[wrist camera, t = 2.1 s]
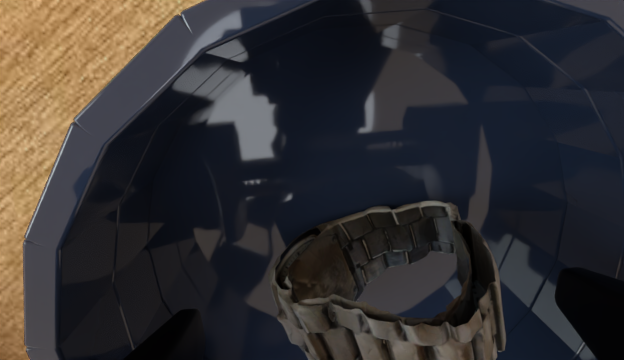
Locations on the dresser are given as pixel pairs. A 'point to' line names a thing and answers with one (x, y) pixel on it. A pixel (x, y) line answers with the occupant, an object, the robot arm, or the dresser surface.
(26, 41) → the dresser surface
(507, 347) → the dark blue round dish
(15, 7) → the dresser surface
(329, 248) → the wristwatch
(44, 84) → the dresser surface
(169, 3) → the dresser surface
